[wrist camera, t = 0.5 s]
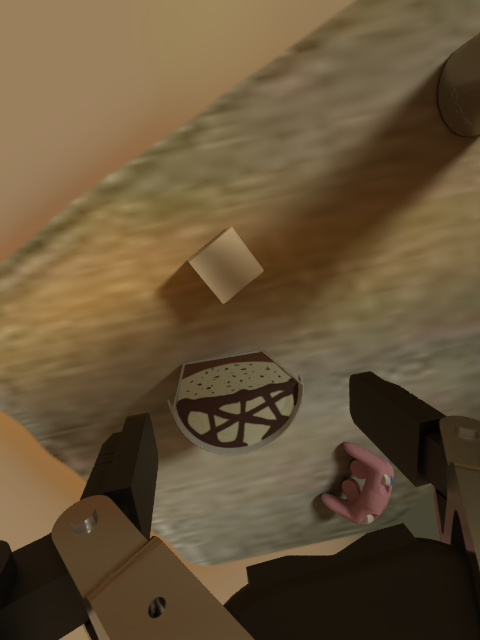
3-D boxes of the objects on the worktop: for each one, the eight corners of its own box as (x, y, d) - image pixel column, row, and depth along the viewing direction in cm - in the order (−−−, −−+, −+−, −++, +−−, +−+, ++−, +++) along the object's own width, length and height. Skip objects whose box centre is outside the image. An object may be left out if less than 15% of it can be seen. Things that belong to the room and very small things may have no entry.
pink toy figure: (333, 492, 45) (376, 532, 39) (315, 500, 42) (360, 544, 36) (358, 435, 43) (406, 469, 38) (342, 439, 40) (392, 476, 35)
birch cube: (223, 230, 31) (231, 226, 26) (251, 267, 33) (264, 270, 28) (187, 260, 31) (188, 262, 26) (217, 296, 33) (223, 304, 28)
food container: (177, 413, 35) (177, 475, 25) (169, 365, 33) (166, 411, 24) (277, 394, 37) (312, 444, 27) (274, 347, 35) (309, 383, 26)
